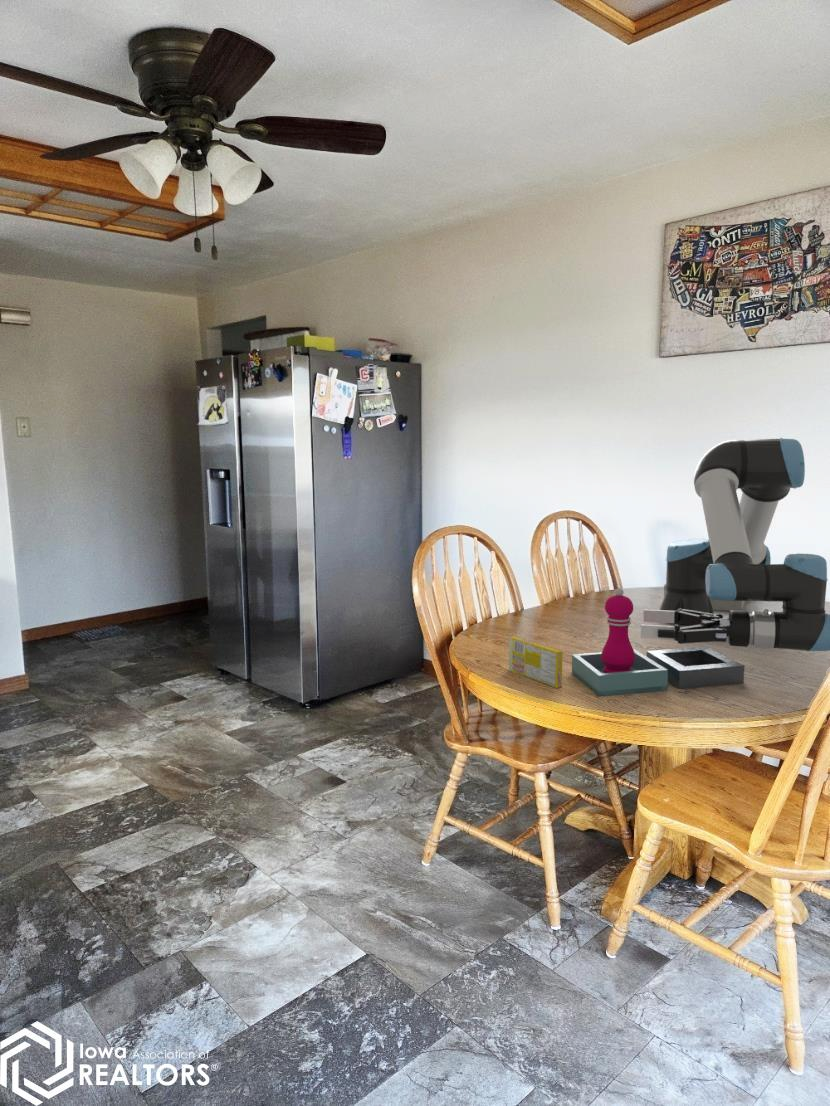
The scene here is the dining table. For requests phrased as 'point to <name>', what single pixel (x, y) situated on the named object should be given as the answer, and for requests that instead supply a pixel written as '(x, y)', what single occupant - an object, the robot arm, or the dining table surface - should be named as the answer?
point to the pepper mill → (618, 634)
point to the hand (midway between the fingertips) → (642, 622)
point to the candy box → (535, 661)
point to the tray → (619, 675)
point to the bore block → (698, 667)
